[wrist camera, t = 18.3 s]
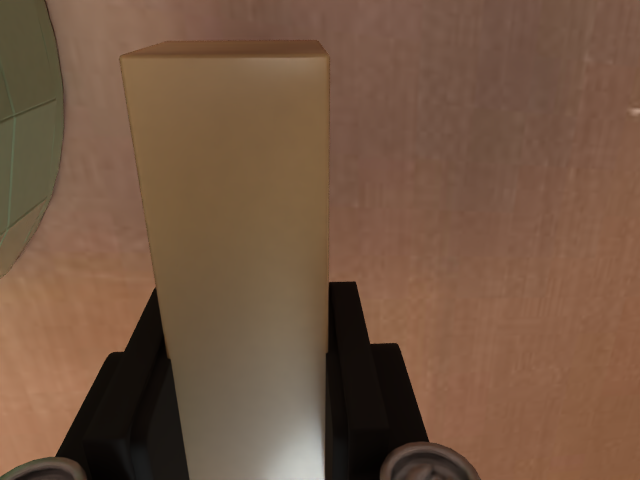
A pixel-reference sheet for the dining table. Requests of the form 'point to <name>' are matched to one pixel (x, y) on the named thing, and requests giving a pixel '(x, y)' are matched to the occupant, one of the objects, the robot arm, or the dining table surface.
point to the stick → (239, 244)
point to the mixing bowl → (27, 122)
